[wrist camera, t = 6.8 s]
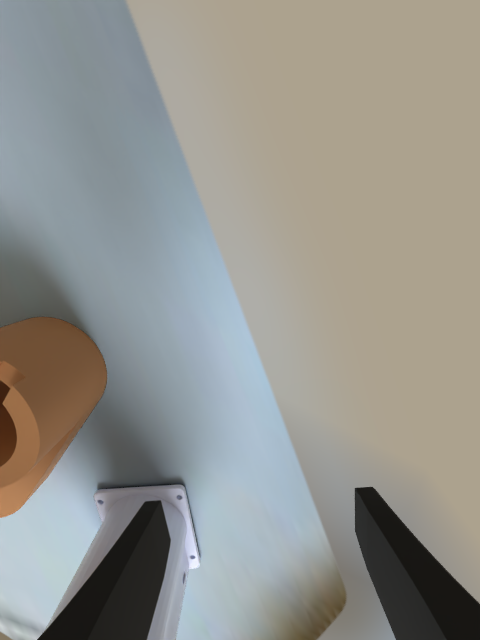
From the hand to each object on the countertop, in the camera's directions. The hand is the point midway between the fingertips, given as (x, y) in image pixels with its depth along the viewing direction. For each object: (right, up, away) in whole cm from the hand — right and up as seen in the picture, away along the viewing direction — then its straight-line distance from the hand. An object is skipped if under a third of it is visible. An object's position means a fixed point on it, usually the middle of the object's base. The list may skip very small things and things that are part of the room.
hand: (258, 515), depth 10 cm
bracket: (-18, 0, +12) cm, 22 cm away
